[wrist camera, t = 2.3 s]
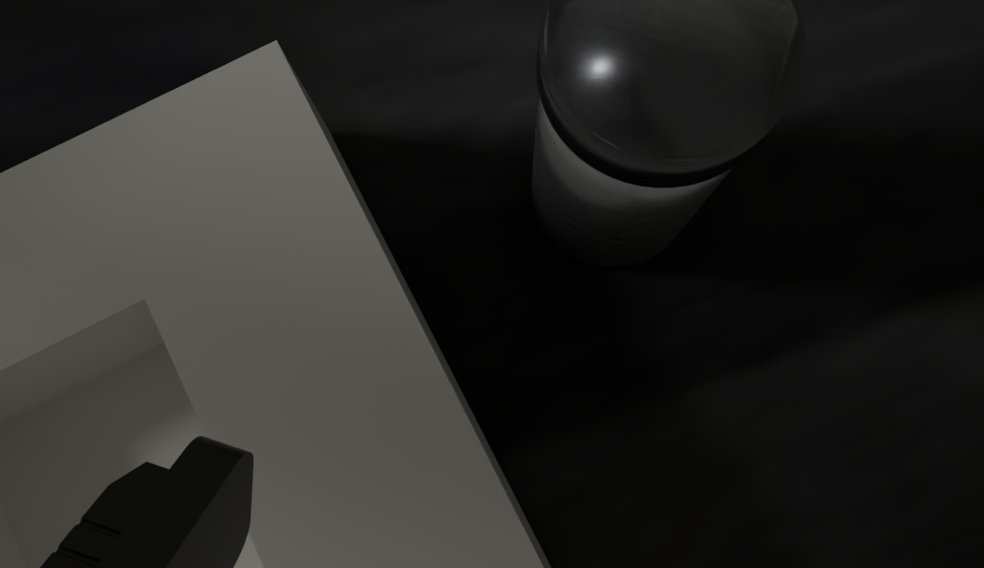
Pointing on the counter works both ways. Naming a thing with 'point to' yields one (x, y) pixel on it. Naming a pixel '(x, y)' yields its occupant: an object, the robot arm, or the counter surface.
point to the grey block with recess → (232, 339)
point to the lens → (652, 114)
